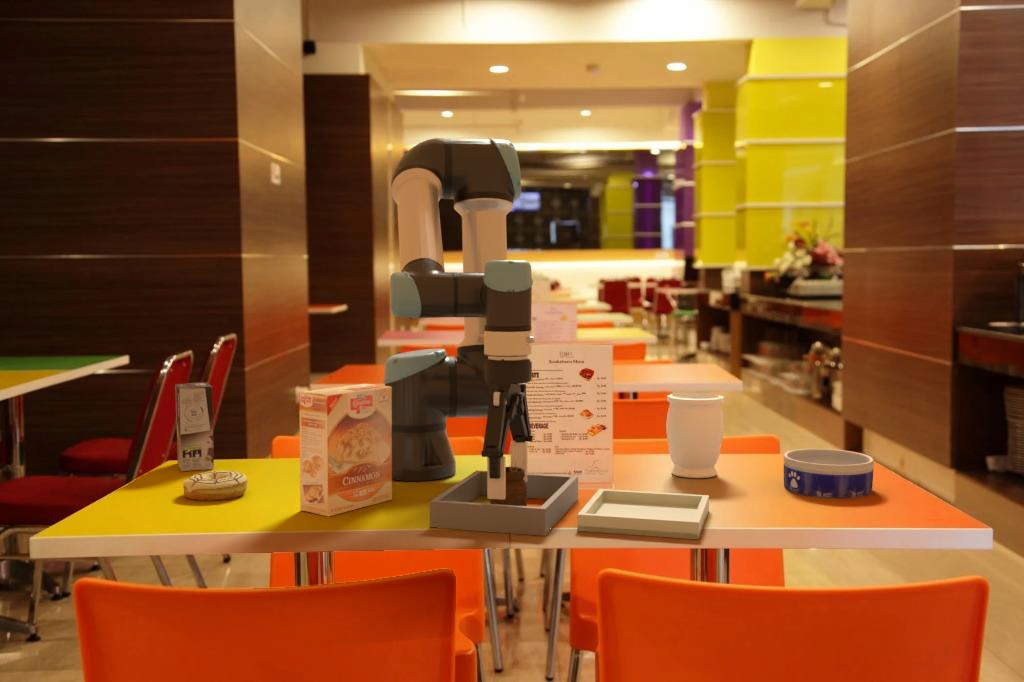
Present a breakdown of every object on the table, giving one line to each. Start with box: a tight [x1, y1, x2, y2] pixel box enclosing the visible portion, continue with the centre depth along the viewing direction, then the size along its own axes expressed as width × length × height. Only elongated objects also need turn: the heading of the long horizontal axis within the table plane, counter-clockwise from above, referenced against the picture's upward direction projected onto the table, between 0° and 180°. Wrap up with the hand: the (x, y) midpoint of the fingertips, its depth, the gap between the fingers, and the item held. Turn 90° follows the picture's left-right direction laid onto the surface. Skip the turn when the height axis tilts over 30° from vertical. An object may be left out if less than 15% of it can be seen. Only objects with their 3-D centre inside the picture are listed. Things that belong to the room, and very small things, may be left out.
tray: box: [576, 488, 710, 540], centre depth 164 cm, size 18×18×2 cm
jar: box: [665, 392, 725, 479], centre depth 198 cm, size 11×10×15 cm
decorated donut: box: [182, 470, 249, 502], centre depth 181 cm, size 10×11×4 cm
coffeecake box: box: [298, 383, 393, 517], centre depth 173 cm, size 15×7×20 cm, turn 143°
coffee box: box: [174, 381, 215, 472], centre depth 205 cm, size 9×6×16 cm
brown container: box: [489, 443, 528, 506], centre depth 168 cm, size 6×6×12 cm
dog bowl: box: [783, 448, 875, 499], centre depth 186 cm, size 15×15×6 cm
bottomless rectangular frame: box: [429, 470, 579, 537], centre depth 169 cm, size 18×24×4 cm
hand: (508, 489), depth 168 cm, fingers open, 13 cm apart
